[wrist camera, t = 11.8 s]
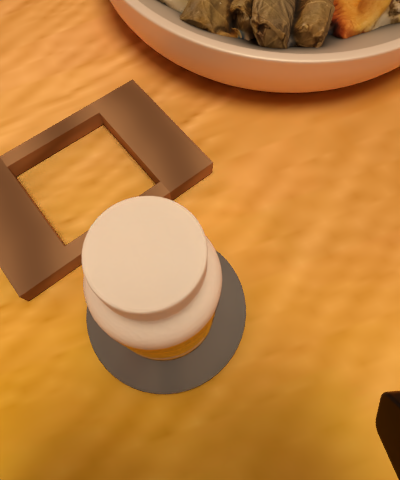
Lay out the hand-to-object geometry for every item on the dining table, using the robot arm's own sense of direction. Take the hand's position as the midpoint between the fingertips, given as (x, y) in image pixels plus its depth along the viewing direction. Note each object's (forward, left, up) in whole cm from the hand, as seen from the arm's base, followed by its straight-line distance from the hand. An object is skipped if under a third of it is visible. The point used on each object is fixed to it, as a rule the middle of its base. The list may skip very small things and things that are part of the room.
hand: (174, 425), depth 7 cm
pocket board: (+3, +14, -13) cm, 19 cm away
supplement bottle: (+2, +4, -12) cm, 13 cm away
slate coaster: (+2, +4, -13) cm, 14 cm away
